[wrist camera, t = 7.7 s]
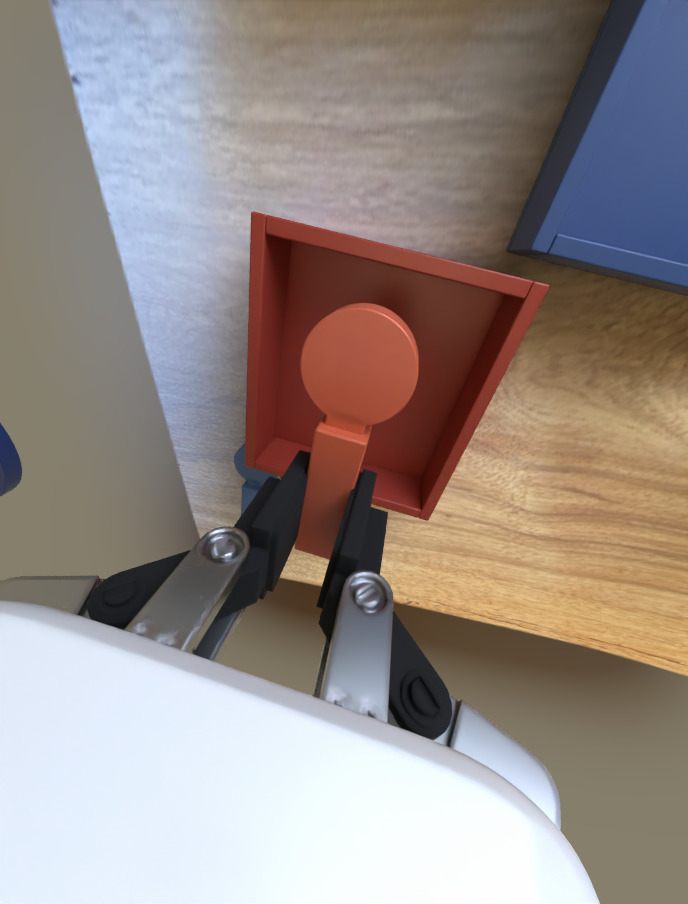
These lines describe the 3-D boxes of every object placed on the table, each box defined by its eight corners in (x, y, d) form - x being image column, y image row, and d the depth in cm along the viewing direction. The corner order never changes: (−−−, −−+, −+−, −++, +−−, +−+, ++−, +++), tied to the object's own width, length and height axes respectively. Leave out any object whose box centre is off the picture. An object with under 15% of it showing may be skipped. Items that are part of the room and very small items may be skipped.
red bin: (268, 437, 21) (244, 466, 18) (284, 220, 14) (250, 210, 11) (427, 484, 20) (428, 521, 18) (523, 279, 14) (551, 285, 11)
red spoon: (357, 540, 13) (352, 567, 12) (286, 518, 13) (274, 543, 12) (435, 319, 8) (438, 330, 7) (319, 289, 8) (303, 294, 7)
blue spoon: (274, 532, 26) (267, 545, 25) (239, 521, 27) (231, 533, 25) (284, 447, 21) (276, 458, 20) (240, 434, 21) (230, 444, 20)
